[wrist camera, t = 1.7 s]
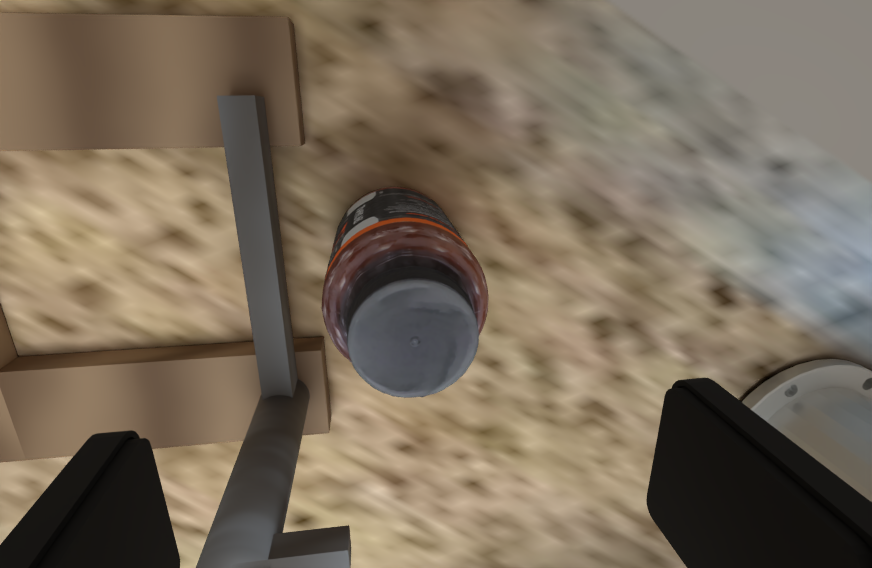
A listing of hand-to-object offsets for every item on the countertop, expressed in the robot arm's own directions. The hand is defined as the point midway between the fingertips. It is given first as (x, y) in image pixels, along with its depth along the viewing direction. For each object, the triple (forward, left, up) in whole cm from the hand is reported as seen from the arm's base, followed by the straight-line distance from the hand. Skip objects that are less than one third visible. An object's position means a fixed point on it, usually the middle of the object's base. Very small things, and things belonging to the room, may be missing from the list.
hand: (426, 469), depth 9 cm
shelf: (+14, 0, -17) cm, 22 cm away
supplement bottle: (0, 0, -17) cm, 17 cm away
